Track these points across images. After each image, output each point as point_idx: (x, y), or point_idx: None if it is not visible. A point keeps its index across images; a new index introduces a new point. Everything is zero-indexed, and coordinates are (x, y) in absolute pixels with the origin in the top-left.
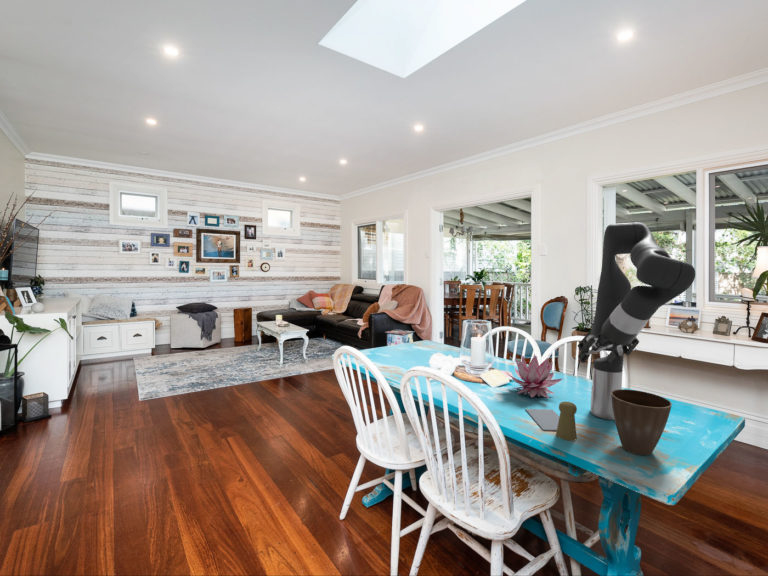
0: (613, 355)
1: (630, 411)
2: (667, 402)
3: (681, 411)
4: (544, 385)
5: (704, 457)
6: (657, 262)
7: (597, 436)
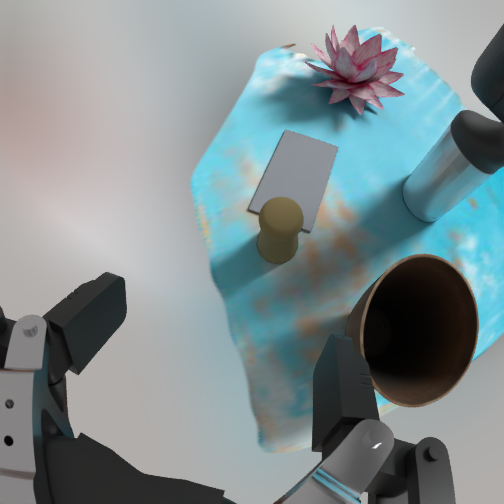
0: (322, 414)
1: None
2: (466, 359)
3: None
4: (367, 90)
5: None
6: None
7: (341, 265)
